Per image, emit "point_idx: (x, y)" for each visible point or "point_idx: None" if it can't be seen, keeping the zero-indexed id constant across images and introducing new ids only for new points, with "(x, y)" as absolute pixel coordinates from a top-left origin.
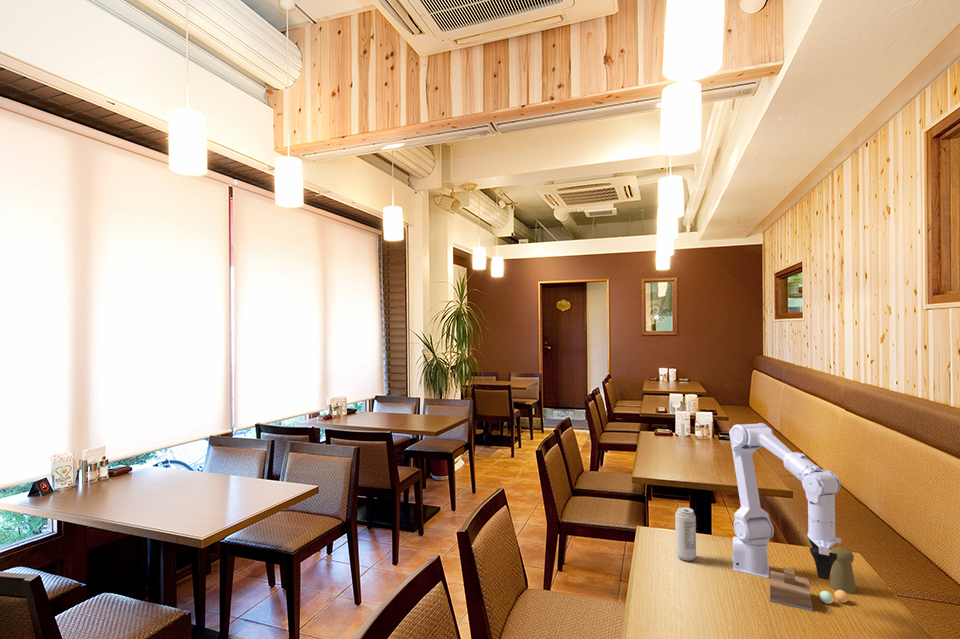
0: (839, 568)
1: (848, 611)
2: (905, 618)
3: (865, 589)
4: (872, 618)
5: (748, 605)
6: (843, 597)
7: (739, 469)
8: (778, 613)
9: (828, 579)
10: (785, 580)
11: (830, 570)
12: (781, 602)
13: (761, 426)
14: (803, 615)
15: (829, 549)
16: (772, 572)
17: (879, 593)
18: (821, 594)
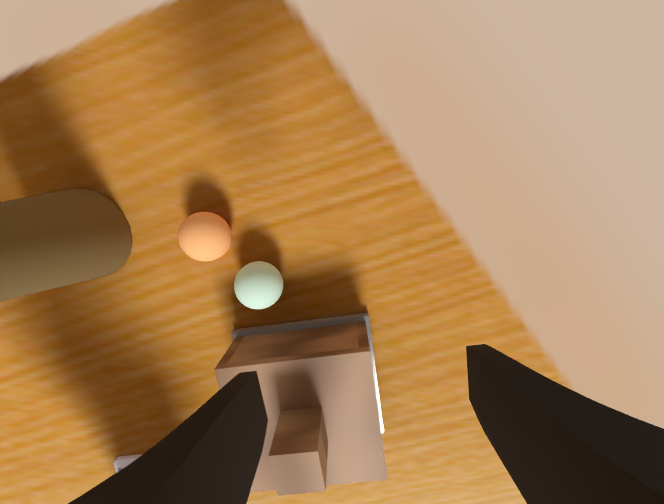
0: (26, 269)
1: (278, 206)
2: (177, 2)
3: (22, 156)
4: (274, 125)
5: (455, 471)
6: (223, 229)
7: None
8: (453, 397)
9: (486, 345)
10: (326, 447)
11: (557, 385)
12: (379, 400)
13: None
14: (416, 333)
15: (165, 486)
16: (259, 484)
17: (14, 104)
18: (269, 304)
